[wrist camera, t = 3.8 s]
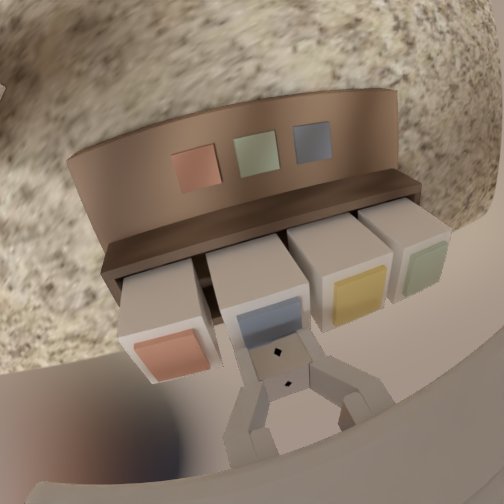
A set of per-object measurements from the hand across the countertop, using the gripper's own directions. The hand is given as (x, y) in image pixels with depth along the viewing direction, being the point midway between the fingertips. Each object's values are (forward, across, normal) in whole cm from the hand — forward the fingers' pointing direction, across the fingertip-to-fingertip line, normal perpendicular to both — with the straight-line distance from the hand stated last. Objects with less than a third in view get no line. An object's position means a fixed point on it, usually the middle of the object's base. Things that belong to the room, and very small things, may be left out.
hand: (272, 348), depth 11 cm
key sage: (+4, -8, 0) cm, 9 cm away
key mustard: (+5, -4, 0) cm, 6 cm away
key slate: (+5, 0, 0) cm, 5 cm away
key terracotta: (+5, +4, 0) cm, 6 cm away
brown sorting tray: (+8, -2, -2) cm, 9 cm away
